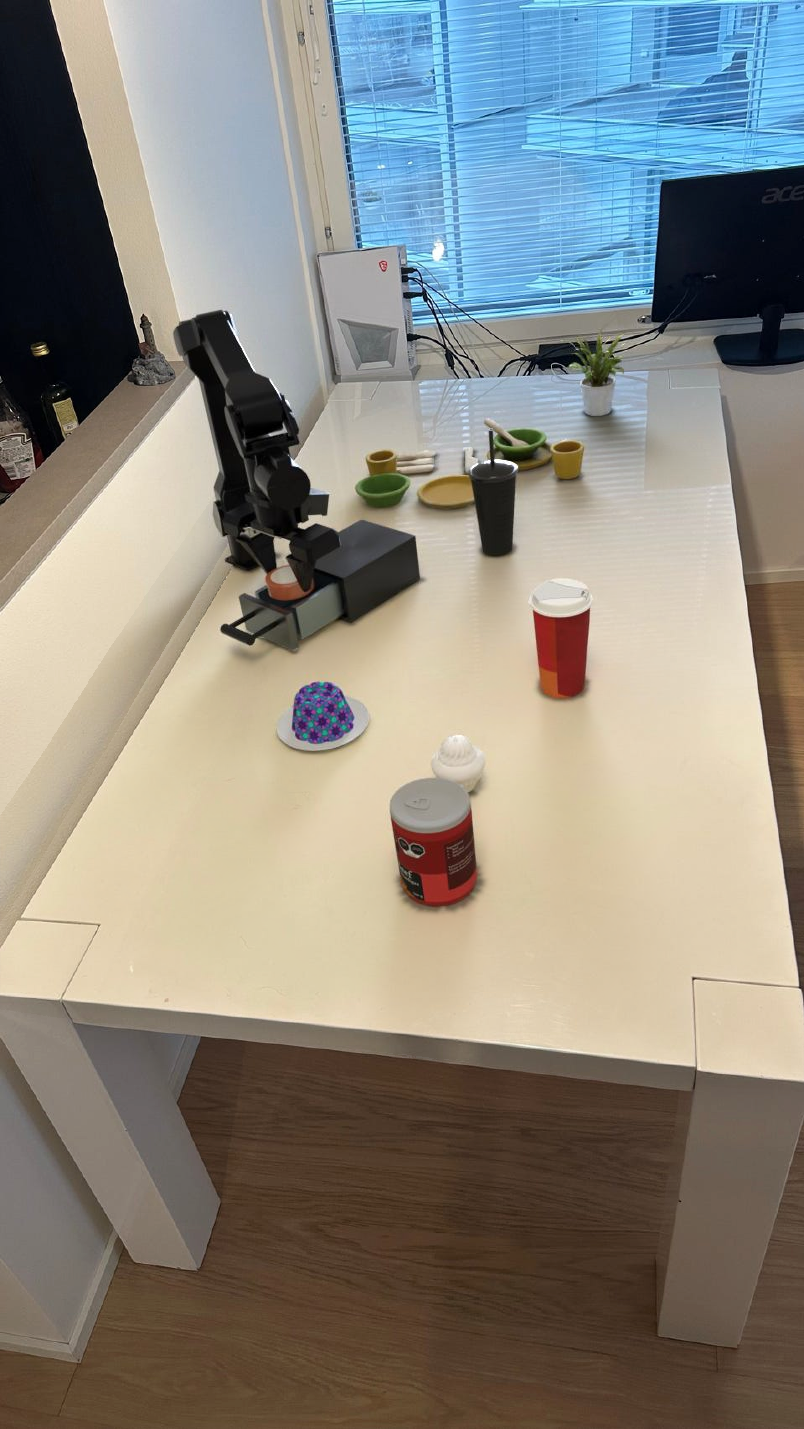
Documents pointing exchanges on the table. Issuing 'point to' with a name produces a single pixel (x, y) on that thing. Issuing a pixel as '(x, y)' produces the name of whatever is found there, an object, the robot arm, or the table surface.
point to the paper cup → (561, 635)
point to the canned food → (434, 840)
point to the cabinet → (370, 566)
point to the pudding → (322, 718)
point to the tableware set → (457, 489)
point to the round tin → (284, 584)
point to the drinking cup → (494, 502)
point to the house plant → (598, 377)
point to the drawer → (288, 614)
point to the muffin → (459, 762)
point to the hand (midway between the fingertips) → (290, 584)
